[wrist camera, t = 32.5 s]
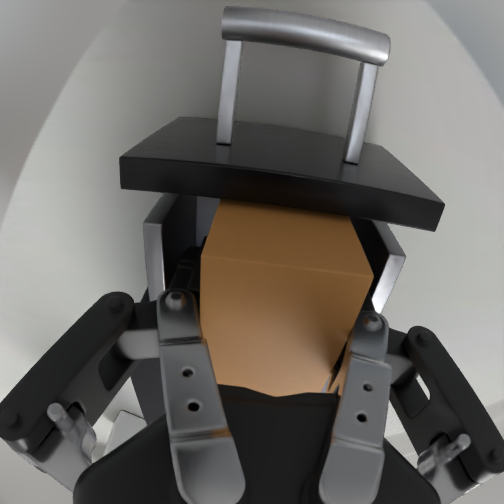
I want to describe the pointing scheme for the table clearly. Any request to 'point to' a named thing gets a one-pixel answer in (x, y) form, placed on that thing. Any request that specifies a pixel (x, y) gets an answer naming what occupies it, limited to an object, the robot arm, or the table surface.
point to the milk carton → (123, 430)
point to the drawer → (279, 158)
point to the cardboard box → (279, 295)
